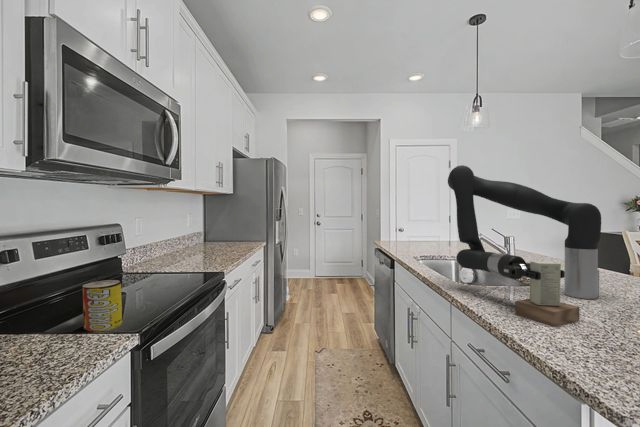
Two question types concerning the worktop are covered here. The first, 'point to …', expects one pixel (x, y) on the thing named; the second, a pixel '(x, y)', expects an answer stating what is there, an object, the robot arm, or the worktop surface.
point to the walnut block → (547, 312)
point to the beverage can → (102, 305)
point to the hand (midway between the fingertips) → (551, 275)
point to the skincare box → (545, 283)
